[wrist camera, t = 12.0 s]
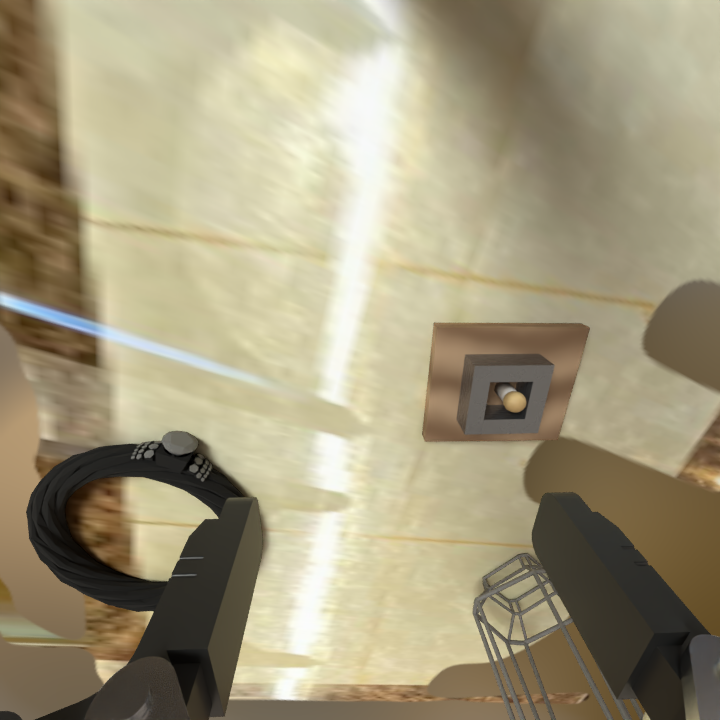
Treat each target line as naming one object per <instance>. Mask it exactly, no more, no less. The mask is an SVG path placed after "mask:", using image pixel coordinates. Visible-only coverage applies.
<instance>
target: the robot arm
mask: <svg viewBox="0 0 720 720" xmlns="http://www.w3.org/2000/svg"><path fill="white" fill-rule="evenodd" d="M532 542H533V547H534V550H535V553H536V555H537V557H538V559H539V561H540V563H541V564H542V566H543V568H544V570H545V572H546V573H547V575H548V577H549V579H550V580H551V582H552V584H553V586H554V588H555V589H556V591H557V593H558V595H559V597H560V598H561V600H562V602H563V604H564V606H565V607H566V609H567V611H568V613H569V615H570V616H571V618H572V620H573V622H574V623H575V625H576V627H577V629H578V631H579V632H580V634H581V636H582V638H583V640H584V641H585V643H586V645H587V647H588V649H589V650H590V652H591V654H592V656H593V658H594V659H595V661H596V663H597V665H598V667H599V668H600V670H601V672H602V674H603V676H604V677H605V679H606V681H607V683H608V685H609V686H610V688H611V690H612V692H613V694H614V695H615V697H616V699H617V700H621V699H638V700H639V701H640V703H641V705H642V706H643V708H644V710H645V711H646V712H645V713H644V716H643V720H720V637H717V636H713V635H711V634H710V633H709V632H708V631H707V630H706V629H705V628H704V626H703V625H702V624H701V623H700V622H699V621H698V619H697V618H696V617H695V616H694V615H693V614H692V612H691V611H690V610H689V609H688V608H687V607H686V606H685V604H684V603H683V602H682V601H681V600H680V599H679V597H678V596H677V595H676V594H675V593H674V592H673V590H672V589H671V588H670V587H669V586H668V585H667V583H666V582H665V581H664V580H663V579H662V578H661V576H660V575H659V574H658V573H657V572H656V571H655V570H654V568H653V567H652V566H649V565H648V563H647V561H646V559H645V558H644V557H643V556H642V555H641V554H640V552H639V551H638V550H635V548H634V545H633V544H632V543H631V542H630V540H629V539H628V538H627V537H626V536H625V535H624V534H623V532H622V531H621V530H620V529H619V528H618V527H617V526H616V525H614V524H613V523H612V522H610V521H609V520H608V519H606V518H605V517H604V516H602V515H601V514H600V513H598V512H592V511H591V510H590V508H589V507H588V506H587V505H586V504H585V502H584V501H583V500H582V499H581V498H580V496H579V495H577V494H576V493H573V492H568V493H567V492H563V493H545V494H544V495H543V496H542V499H541V503H540V506H539V510H538V513H537V516H536V520H535V523H534V527H533V530H532ZM262 543H263V540H262V530H261V522H260V514H259V506H258V500H257V498H256V497H247V498H228V499H227V500H226V502H225V504H224V506H223V509H222V511H221V514H220V517H219V519H205V520H204V521H203V522H202V523H201V524H200V526H199V527H198V528H197V529H196V530H195V531H194V532H193V533H192V534H191V535H190V536H189V538H188V540H187V542H186V544H185V547H184V549H183V551H182V553H181V555H180V560H179V561H178V562H177V564H176V566H175V568H174V570H173V572H172V577H171V578H170V579H169V581H168V583H167V585H166V587H165V590H164V592H163V594H162V596H161V598H160V600H159V602H158V605H157V607H156V609H155V611H154V613H153V615H152V617H151V620H150V622H149V624H148V626H147V628H146V630H145V632H144V635H143V637H142V639H141V641H140V643H139V645H138V647H137V649H136V651H135V653H134V655H133V656H132V658H131V659H130V661H129V662H128V664H127V665H126V666H124V667H123V668H122V669H120V670H119V671H118V672H116V673H115V674H114V675H113V676H112V677H111V678H110V679H109V680H108V681H107V682H106V683H105V684H104V685H103V686H102V688H101V689H100V690H99V691H98V692H97V693H95V694H94V695H92V696H90V697H88V698H87V699H84V700H82V701H80V702H78V703H76V704H73V705H70V706H68V707H65V708H63V709H61V710H58V711H55V712H53V713H50V714H48V715H46V716H43V717H40V718H38V719H35V720H209V717H221V716H222V717H223V716H225V713H226V709H227V704H228V700H229V696H230V691H231V687H232V683H233V678H234V674H235V670H236V665H237V661H238V657H239V653H240V648H241V644H242V640H243V635H244V631H245V627H246V622H247V618H248V614H249V609H250V605H251V601H252V596H253V592H254V588H255V583H256V579H257V575H258V571H259V566H260V562H261V556H262ZM0 720H22V719H21V717H20V716H19V715H17V714H16V713H14V712H9V711H0Z"/></svg>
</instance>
